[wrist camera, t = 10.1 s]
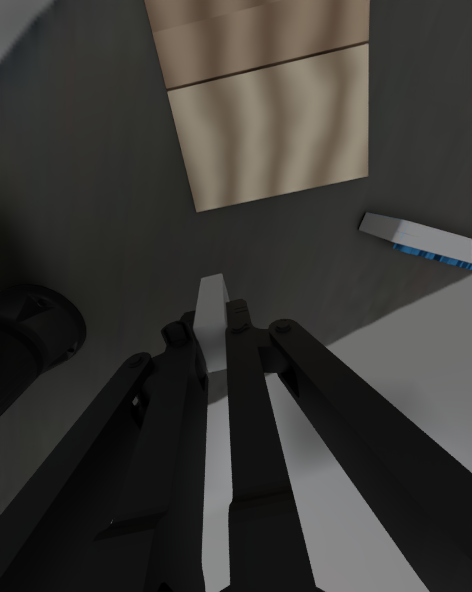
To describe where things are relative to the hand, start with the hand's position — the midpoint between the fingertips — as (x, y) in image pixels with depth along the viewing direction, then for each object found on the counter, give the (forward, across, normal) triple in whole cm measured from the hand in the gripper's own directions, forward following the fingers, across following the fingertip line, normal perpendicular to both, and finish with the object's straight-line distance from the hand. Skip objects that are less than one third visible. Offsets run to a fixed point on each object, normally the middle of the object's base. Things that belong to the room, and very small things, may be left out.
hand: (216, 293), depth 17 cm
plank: (+22, +10, +11) cm, 26 cm away
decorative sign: (+21, +36, -11) cm, 43 cm away
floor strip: (+22, +11, +23) cm, 34 cm away
